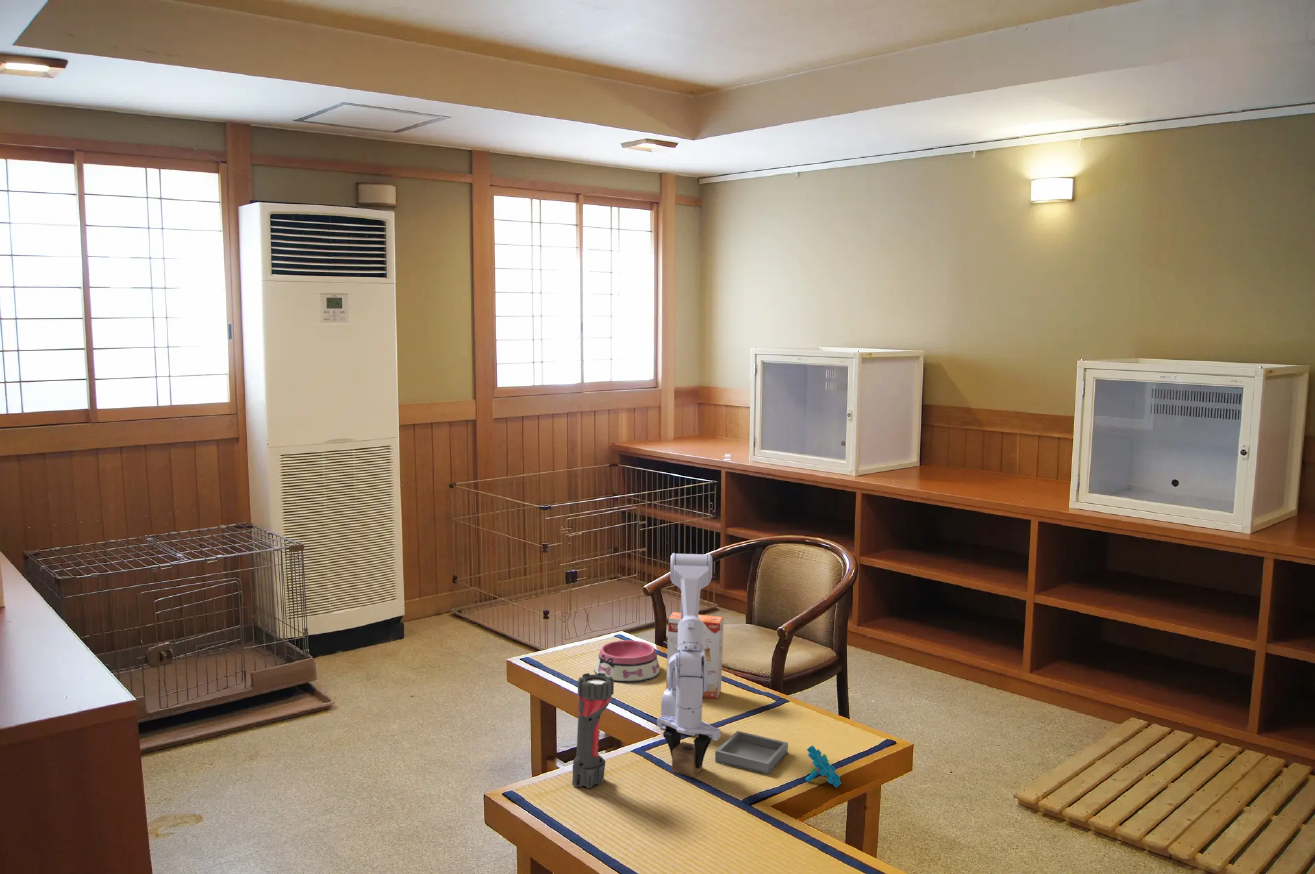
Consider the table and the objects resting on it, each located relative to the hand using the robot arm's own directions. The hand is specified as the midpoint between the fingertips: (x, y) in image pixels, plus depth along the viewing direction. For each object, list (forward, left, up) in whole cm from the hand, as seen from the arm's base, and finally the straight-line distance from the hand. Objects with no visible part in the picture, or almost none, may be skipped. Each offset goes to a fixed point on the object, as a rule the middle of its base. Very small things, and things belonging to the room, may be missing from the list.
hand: (687, 763), depth 212 cm
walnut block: (0, 0, -1) cm, 1 cm away
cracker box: (-18, +41, -2) cm, 45 cm away
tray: (+10, +13, -1) cm, 16 cm away
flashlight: (-15, -15, -2) cm, 21 cm away
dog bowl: (-41, +46, -2) cm, 62 cm away
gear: (+28, +10, -2) cm, 30 cm away
